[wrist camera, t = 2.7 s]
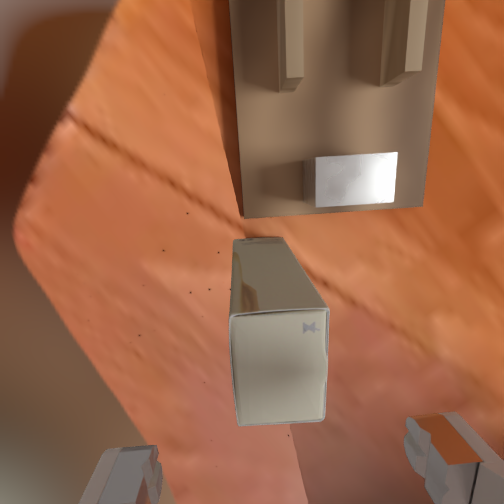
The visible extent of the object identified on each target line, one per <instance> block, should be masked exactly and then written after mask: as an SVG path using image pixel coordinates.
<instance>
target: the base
mask: <svg viewBox="0 0 504 504" xmlns="http://www.w3.org/2000/svg"><path fill="white" fill-rule="evenodd" d="M444 7H445V0H229V10H230V24H231V38H232V53H233V67H234V81H235V95H236V110H237V124H238V138H239V153H240V167H241V181H242V196H243V210H244V219H249V218H263V217H278V216H292V215H307V214H321V213H336V212H350V211H365V210H380V209H394V208H409V207H423V199H424V190H425V181H426V172H427V163H428V154H429V144H430V135H431V126H432V117H433V108H434V99H435V89H436V80H437V71H438V62H439V53H440V44H441V34H442V25H443V16H444ZM392 152H398V154H397V167H396V179H395V192H394V202H390V203H375V204H360V205H345V206H331V207H313V206H311V205H309V204H306V203H304V202H303V160H306V159H310V158H315V157H328V156H344V155H360V154H376V153H392Z"/></svg>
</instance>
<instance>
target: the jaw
mask: <svg viewBox="0 0 504 504" xmlns="http://www.w3.org/2000/svg"><path fill="white" fill-rule="evenodd" d="M397 154H398V152H392V153H376V154H360V155H344V156H328V157H315V158H310V159H306V160H303V202H304V203H306V204H309V205H311V206H313V207H331V206H345V205H360V204H375V203H390V202H394V192H395V179H396V167H397Z"/></svg>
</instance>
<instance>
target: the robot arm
mask: <svg viewBox="0 0 504 504" xmlns="http://www.w3.org/2000/svg"><path fill="white" fill-rule="evenodd" d="M405 426H406V427H407V429H408V430H409V432H408V433H407V434H406V435H405V436H404V448H405V452H406V455H407V458H408V460H409V462H410V464H411V466H412V467H413V469H414V471H415V472H416V473H418V474H419V475H420V476H422V477H423V478H424V479H425V483H424V487H425V489H426V490H427V492H428V494H429V495H430V497H431V499H432V500H433V502H434V503H435V504H504V460H502V459H501V458H500V457H499V456H498V455H497V454H496V453H495V452H494V451H493V450H492V449H491V448H490V446H489V445H488V444H487V443H486V442H485V441H484V440H483V439H482V438H481V437H480V436H479V435H478V434H477V433H476V432H475V431H474V430H473V429H472V428H471V426H470V425H469V424H468V423H467V422H466V421H465V420H464V419H463V418H462V417H461V416H460V415H459V414H458V413H456V412H445V413H433V414H425V415H417V416H409V417H408V418H407V419H406V425H405ZM158 454H159V452H158V448H157V445H148V446H136V447H123V448H113V449H107V450H106V451H105V452H104V453H103V454H102V456H101V459H100V460H99V462H98V464H97V466H96V468H95V471H94V473H93V475H92V477H91V479H90V481H89V483H88V485H87V487H86V489H85V491H84V494H83V496H82V498H81V500H80V502H79V504H157V503H158V502H159V499H160V494H161V489H162V479H163V477H162V466H161V463H159V462H158V461H157V458H158Z"/></svg>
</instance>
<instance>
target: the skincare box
mask: <svg viewBox="0 0 504 504" xmlns="http://www.w3.org/2000/svg"><path fill="white" fill-rule="evenodd" d="M329 314H330V311H329V308H328V306H327V305H326V303H325V302H324V300H323V299H322V297H321V295H320V294H319V292H318V291H317V289H316V288H315V286H314V285H313V283H312V282H311V280H310V278H309V277H308V275H307V274H306V272H305V271H304V269H303V268H302V266H301V265H300V263H299V262H298V260H297V258H296V257H295V255H294V254H293V252H292V251H291V249H290V248H289V246H288V245H287V243H286V241H285V240H284V238H283V237H266V238H246V239H236V240H234V241H233V257H232V278H231V296H230V312H229V349H230V364H231V374H232V385H233V394H234V402H235V410H236V417H237V424H238V426H252V425H271V424H273V425H275V424H290V423H306V422H321V421H322V420H323V419H324V418H325V407H326V388H327V372H328V340H329Z"/></svg>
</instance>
